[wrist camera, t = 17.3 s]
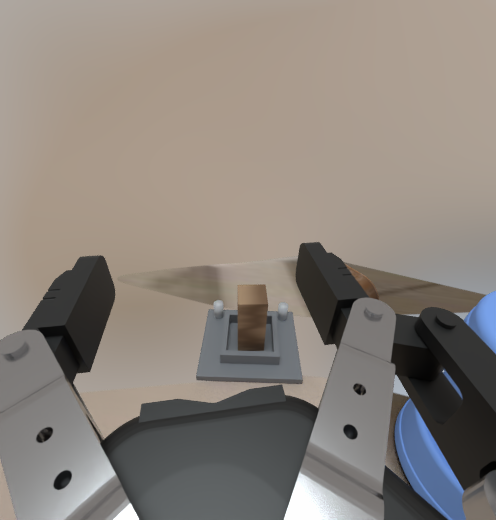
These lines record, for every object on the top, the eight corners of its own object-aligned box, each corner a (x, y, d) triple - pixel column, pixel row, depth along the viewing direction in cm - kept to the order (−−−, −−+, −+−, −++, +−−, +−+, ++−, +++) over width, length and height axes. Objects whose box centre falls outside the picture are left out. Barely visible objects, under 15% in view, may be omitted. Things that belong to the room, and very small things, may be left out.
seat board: (196, 380, 39) (194, 363, 37) (209, 313, 50) (207, 297, 48) (301, 383, 39) (305, 367, 37) (291, 315, 50) (294, 299, 48)
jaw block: (237, 351, 42) (238, 304, 36) (237, 330, 45) (237, 284, 40) (263, 350, 42) (268, 304, 37) (261, 330, 46) (265, 284, 40)
